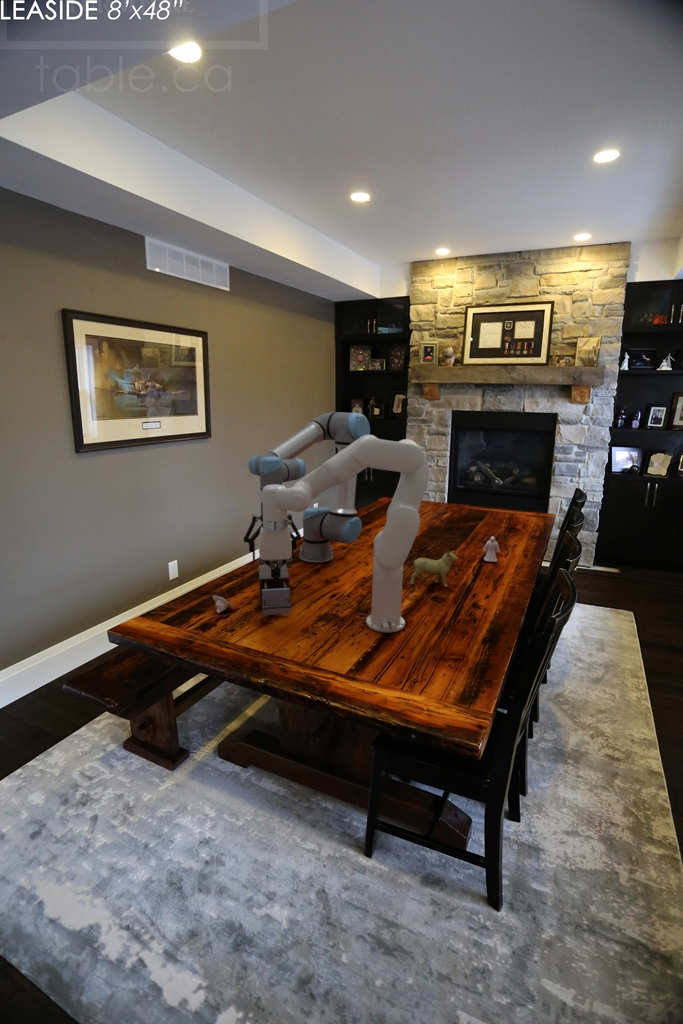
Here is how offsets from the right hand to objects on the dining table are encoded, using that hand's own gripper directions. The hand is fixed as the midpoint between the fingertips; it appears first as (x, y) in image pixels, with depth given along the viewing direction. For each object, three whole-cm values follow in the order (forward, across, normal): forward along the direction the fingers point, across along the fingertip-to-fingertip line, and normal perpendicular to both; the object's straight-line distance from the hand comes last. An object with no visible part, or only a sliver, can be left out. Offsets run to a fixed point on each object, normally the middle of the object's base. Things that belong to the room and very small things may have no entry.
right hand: (275, 579), depth 161 cm
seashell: (+14, +18, -10) cm, 25 cm away
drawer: (+13, 0, -5) cm, 14 cm away
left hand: (0, 0, -19) cm, 19 cm away
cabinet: (+14, 0, -17) cm, 22 cm away
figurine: (+14, -98, -45) cm, 109 cm away
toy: (+14, -62, -21) cm, 67 cm away
